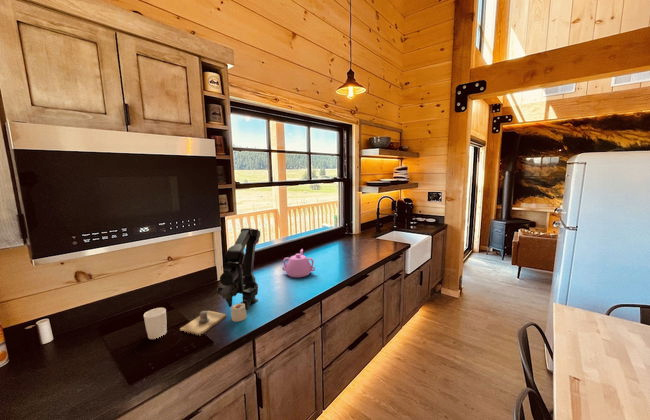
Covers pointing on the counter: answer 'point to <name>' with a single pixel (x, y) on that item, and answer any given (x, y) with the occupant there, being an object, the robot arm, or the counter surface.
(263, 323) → the counter surface
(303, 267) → the teapot
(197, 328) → the stud block
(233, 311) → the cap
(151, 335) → the white cup
